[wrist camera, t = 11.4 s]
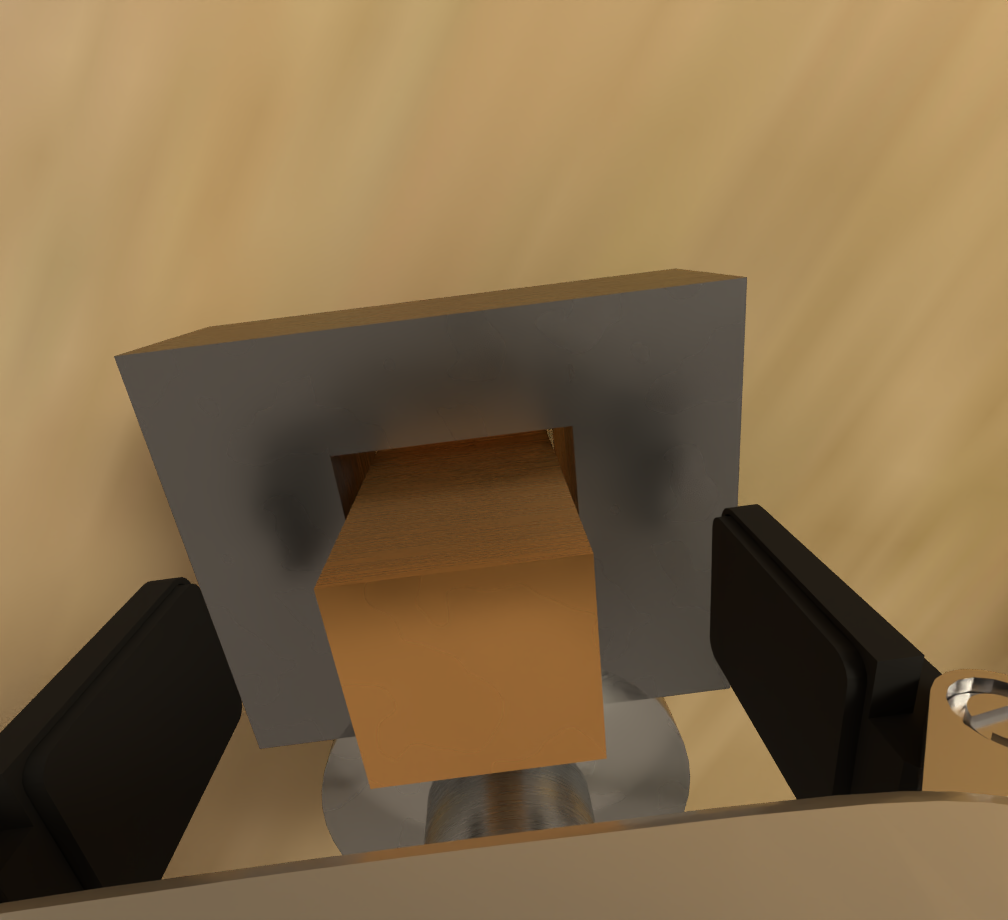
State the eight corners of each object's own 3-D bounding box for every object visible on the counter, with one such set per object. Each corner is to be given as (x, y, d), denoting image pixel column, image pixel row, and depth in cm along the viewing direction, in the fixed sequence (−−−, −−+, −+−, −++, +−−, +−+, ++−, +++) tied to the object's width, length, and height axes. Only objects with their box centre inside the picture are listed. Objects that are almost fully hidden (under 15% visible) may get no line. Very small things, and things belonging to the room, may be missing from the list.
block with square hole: (633, 263, 18) (1055, 314, 5) (646, 694, 25) (841, 1205, 12) (263, 309, 18) (-298, 485, 5) (375, 729, 24) (262, 1283, 11)
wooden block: (534, 478, 21) (606, 758, 9) (426, 492, 21) (370, 788, 9) (523, 372, 19) (593, 553, 8) (407, 386, 19) (313, 588, 8)
